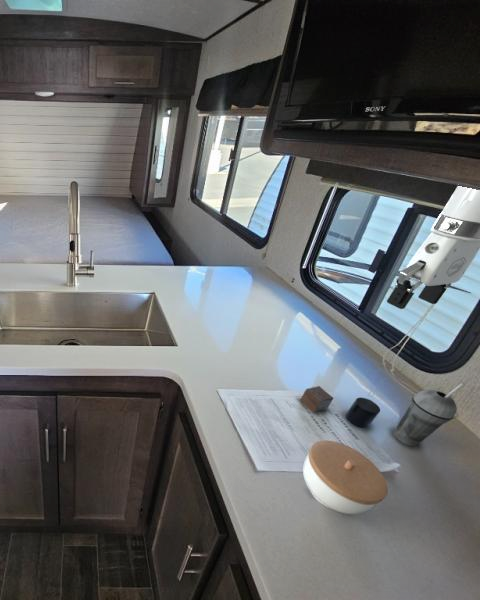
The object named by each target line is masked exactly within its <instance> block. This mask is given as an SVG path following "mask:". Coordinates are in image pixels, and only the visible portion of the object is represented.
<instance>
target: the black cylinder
mask: <svg viewBox="0 0 480 600" xmlns="http://www.w3.org/2000/svg"><path fill="white" fill-rule="evenodd" d="M380 412H381V408H380V406H379V405H378V404H377V403H376V402H374V401H373V400H371V399H369V398H366V397H361V396H359V397H356V398H355V400H354V402H353V403H352V404H351V406H350V407H349V408H348V410H347V411H346V413H345V418H346V420H347V421H348V422H349V423H350V424H351V425H353V426H355V427H357V428H360V429H367V428H369V427H370V426H371V424H372V423H373V421H374V420H375V419H376V418H377V417H378V415H379V414H380Z"/></svg>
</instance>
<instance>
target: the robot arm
mask: <svg viewBox="0 0 480 600" xmlns="http://www.w3.org/2000/svg"><path fill="white" fill-rule="evenodd" d="M430 231H431V233H430V234H429V235H428V236H427V237H426V239H425V240H424V242H423V243H422V244H421V246H420V247H419V248H418V249H417V251H416V252H415V254H414V255H413V256H412V258H411V259H410V261H409V263H408V264H407V265H406V267H405V268H403V269H402V270H400V271H399V273H398V278H397V279H396V283H395V284H394V288H393V290H392V292H391V293H390V295H389V296H388V299H386V303H387V304H389V305H392V306H394V307H395V308H397V309H399V310H404V309H405V308H406V307H407V305H408V304H409V302H410V301H411V299H412V298H413V296H414V295H415V290H416V289H418V288H419V287H420V286H422V285H423V284H424V287H423V289H422V290H421V292H420V293H419V294H418V295H417V296H418V297H417V298H418V299H420V300H422V301H425V302H427V303H429V304H431V305H437V303H438V302H439V301H440V299H441V298H442V296H444V294H445V293H446V291H447V290H448V288H450V287H451V286H452V284H454V283H457V282H459V281H460V280H461V279H462V277H463V276H464V275H465V273H466V271H467V270H468V269H469V267H470V265H471V264H472V262H473V260H474V259H475V257H476V256H477V254H478V252H479V251H480V190H476V189H472V188H467V187H462V186H458V185H457V186H456V188H455V190H454V192H453V193H452V194H451V196H450V198H449V199H448V201H447V203H446V204H445V206H444V208H443V209H442V211H441V213H440V214H439V215H438V216H437V219H436V220H435V222H434V224H433V225H432V226H431V228H430ZM411 282H413V283H412V284H411Z"/></svg>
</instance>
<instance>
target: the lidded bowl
mask: <svg viewBox="0 0 480 600" xmlns="http://www.w3.org/2000/svg"><path fill="white" fill-rule="evenodd" d="M302 473H303V478H304V481H305V484H306V486H307V488H308V490H309V491H310V493H311V494H312V496H313V498H315V499H316V501H318V502H319V504H321V505H322V506H324V507H325V508H327V509H330V510H332V511H335V512H338V513H341V514H346V515H359V514H360V515H361V514H364V513H367V512H369V511H370V510H371V509H373V508H375V507H376V506H377V505H378V504H379V503H381V502H383V500H384V499H386V497H387V495H388V492H389V491H388V488H389V487H388V483H387V481H386V479H385V477H384V474H382V472H381V470H380V469H379V468H378V467H377V465H376V464H374V463H373V461H371V460H370V459H369V457H366V456H365V455H364V454H362V452H360V451H358V450H357V449H355V448H353V447H351V446H350V445H347V444H344V443H342V442H339V441H334V440H329V439H328V440H327V439H326V440H319V441H316V442H315V443H313V444H312V446H311V447H310V449H309V451H308V453H307V454H306V457H305V459H304V462H303V466H302Z"/></svg>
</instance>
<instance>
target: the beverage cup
mask: <svg viewBox="0 0 480 600" xmlns="http://www.w3.org/2000/svg"><path fill="white" fill-rule="evenodd" d="M465 385H466V383H464V382H461V383H459V384H458V385H457V386H456V387H455V388H454V389H452V390H451V391H449V393H445V392H444V391H441V390H436V389H425V390H421V391H418V392H417V393H416V394H415V395H413V396H412V397H411V400H410V403H409V406H408V408H407V410H406V411H405V412H404V414H403V416H402V417H401V418H400V421H399V422H398V424H397V425H396V427H395V429H394V430H393V435H394V437H395V438H396V439H397V440H398V441H399V442H400V443H402V444H404V445H407V446H410V447H415V446H417V445H419V444H420V443H422V442H423V441H424V440H425V439H427V438H428V437H429V436H431V435H432V434H433V433H434V432H435V431H437V430H438V429H439V428H440V427H441V426H443V425H444V424H447V423H449V422H450V421H451V420H453V419H455V416H456V414H457V411H458V406H457V404H456V401H455V400H454V399H453V397H451V396H453V395H454V394H455V393H457V391H459V390H460V389H461V388H463V386H465Z"/></svg>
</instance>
